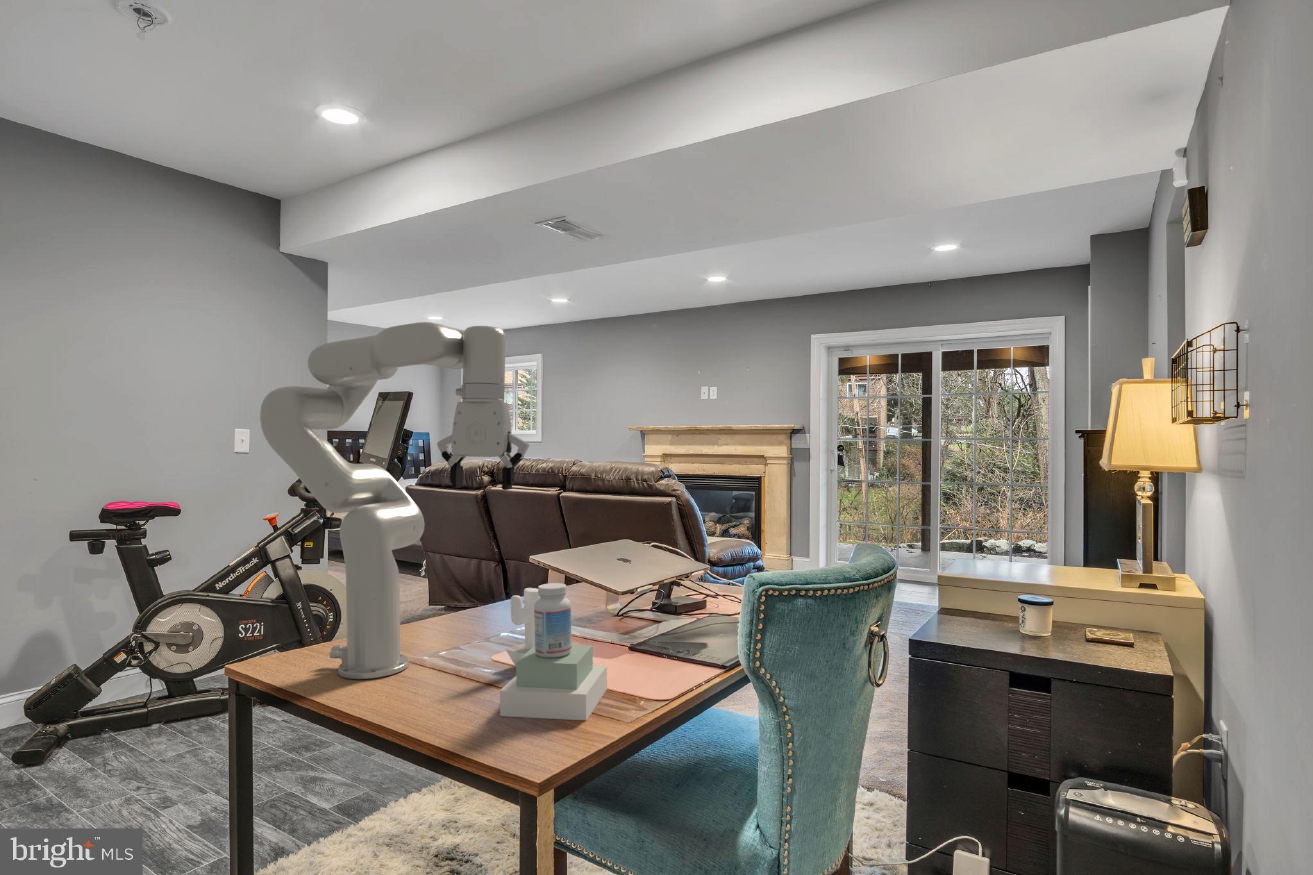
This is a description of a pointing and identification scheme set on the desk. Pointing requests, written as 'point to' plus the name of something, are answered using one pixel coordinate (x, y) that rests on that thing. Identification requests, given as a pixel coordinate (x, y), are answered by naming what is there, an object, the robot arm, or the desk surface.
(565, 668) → the top block
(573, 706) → the base block
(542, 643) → the pill bottle
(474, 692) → the desk surface
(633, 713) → the desk surface
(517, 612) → the figurine
